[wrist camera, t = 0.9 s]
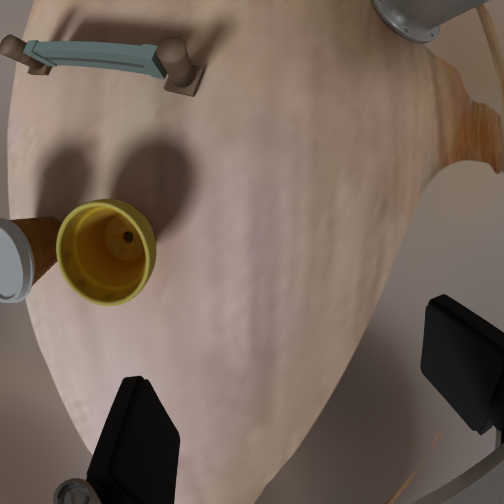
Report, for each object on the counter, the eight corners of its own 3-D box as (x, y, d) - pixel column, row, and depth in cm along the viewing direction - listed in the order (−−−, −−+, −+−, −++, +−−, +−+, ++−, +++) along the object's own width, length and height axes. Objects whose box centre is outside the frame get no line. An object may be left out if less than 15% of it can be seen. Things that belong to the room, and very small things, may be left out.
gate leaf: (169, 67, 28) (157, 45, 21) (164, 79, 28) (151, 59, 22) (53, 55, 25) (28, 40, 19) (48, 66, 25) (22, 52, 19)
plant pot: (163, 187, 33) (140, 192, 24) (175, 270, 36) (159, 303, 26) (87, 200, 32) (46, 211, 23) (102, 278, 35) (69, 309, 26)
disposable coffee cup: (16, 237, 32) (-36, 260, 21) (48, 190, 31) (-9, 200, 20) (54, 285, 35) (7, 322, 23) (89, 241, 34) (39, 271, 22)
